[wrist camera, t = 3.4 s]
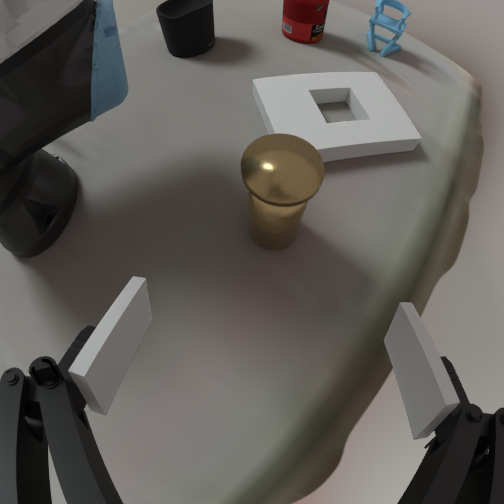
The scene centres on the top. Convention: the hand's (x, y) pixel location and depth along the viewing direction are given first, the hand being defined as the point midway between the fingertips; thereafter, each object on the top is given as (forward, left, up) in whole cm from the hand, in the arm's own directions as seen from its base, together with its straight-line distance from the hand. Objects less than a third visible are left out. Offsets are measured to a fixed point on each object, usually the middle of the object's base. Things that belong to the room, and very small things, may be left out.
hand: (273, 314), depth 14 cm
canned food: (+21, +48, -15) cm, 54 cm away
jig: (+17, +24, -15) cm, 33 cm away
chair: (+37, +44, -15) cm, 59 cm away
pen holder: (0, +49, -15) cm, 51 cm away
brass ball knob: (+4, +10, -15) cm, 18 cm away
